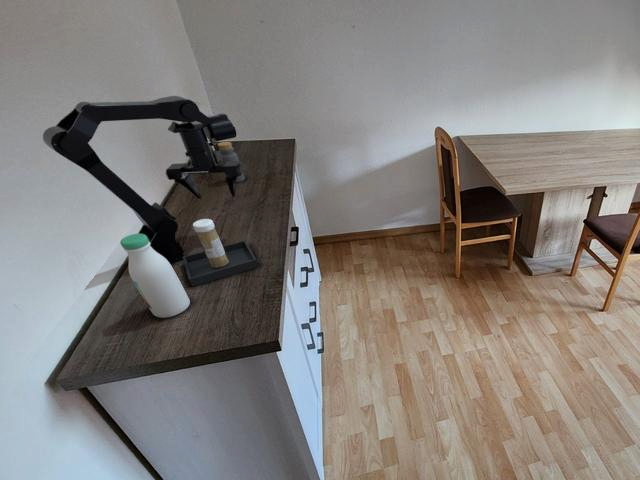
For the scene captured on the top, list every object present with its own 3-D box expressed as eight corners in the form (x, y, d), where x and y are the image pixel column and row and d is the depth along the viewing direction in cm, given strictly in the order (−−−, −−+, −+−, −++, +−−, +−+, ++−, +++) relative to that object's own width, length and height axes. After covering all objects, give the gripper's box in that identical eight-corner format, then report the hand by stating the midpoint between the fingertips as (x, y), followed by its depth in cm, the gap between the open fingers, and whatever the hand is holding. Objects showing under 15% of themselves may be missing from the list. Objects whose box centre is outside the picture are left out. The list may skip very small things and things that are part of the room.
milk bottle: (197, 298, 98) (162, 229, 86) (179, 318, 92) (138, 247, 80) (166, 297, 97) (127, 229, 86) (145, 318, 91) (100, 247, 80)
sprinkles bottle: (207, 266, 108) (187, 224, 100) (221, 258, 112) (203, 216, 104) (219, 270, 107) (200, 227, 99) (233, 261, 110) (216, 220, 103)
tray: (192, 286, 101) (188, 279, 100) (185, 263, 110) (182, 256, 108) (258, 266, 110) (256, 259, 108) (248, 246, 118) (245, 239, 117)
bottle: (238, 183, 156) (225, 146, 147) (225, 181, 157) (212, 145, 148) (248, 178, 161) (236, 142, 152) (235, 176, 162) (223, 140, 153)
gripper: (241, 136, 115) (256, 184, 124) (170, 138, 111) (191, 188, 120) (231, 147, 107) (248, 199, 116) (153, 150, 103) (178, 204, 112)
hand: (217, 197), depth 116 cm, fingers open, 9 cm apart
